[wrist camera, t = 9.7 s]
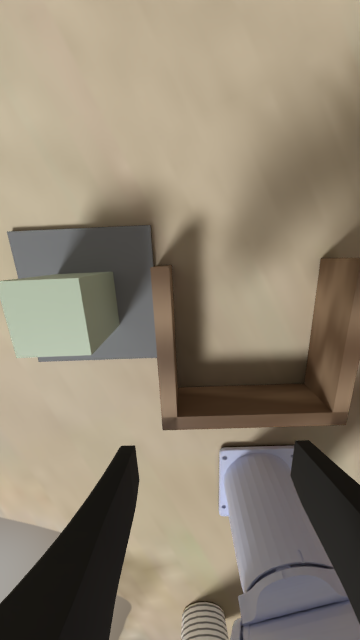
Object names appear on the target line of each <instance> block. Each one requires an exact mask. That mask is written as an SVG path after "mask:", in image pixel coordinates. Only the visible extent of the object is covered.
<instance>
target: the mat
mask: <svg viewBox="0 0 360 640" xmlns="http://www.w3.org/2000/svg"><path fill="white" fill-rule="evenodd" d="M7 234H8V238H9V242H10V246H11V250H12V254H13V258H14V262H15V267H16V271H17V275H18V279H21V278H29V277H37V276H45V275H53V274H69V273H92V272H113V276H114V284H115V292H116V300H117V308H118V316H119V324H120V325H119V326H118V327H117V328H116V329H115V331H114V332H113V333H112V334H111V335H110V336H109V337H108V338H107V339H106V340H105V341H104V342H103V343H102V344H101V346H100V347H99V348H98V349H97V350H96V351H95V352H94V353H93V354H92V355H82V356H55V357H38V361H39V362H46V361H75V360H103V359H132V358H157V349H156V336H155V323H154V310H153V297H152V284H151V271H150V267H154V266H153V253H152V239H151V226H150V225H142V226H120V227H98V228H77V229H55V230H33V231H11V232H7Z"/></svg>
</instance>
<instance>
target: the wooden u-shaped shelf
mask: <svg viewBox="0 0 360 640" xmlns="http://www.w3.org/2000/svg"><path fill="white" fill-rule="evenodd" d="M150 271H151V284H152V297H153V310H154V323H155V336H156V349H157V362H158V375H159V388H160V400H161V413H162V426H163V430H187V429H221V428H256V427H291V426H325V425H346V422H347V418H348V413H349V408H350V403H351V398H352V393H353V389H354V384H355V379H356V374H357V369H358V364H359V360H360V258H324V259H321V262H320V269H319V277H318V284H317V292H316V299H315V307H314V314H313V322H312V329H311V337H310V344H309V351H308V359H307V366H306V374H305V381H304V383H302V384H271V385H240V386H209V387H178V378H177V358H176V338H175V318H174V298H173V278H172V265H159V266H154V267H150Z"/></svg>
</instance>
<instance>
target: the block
mask: <svg viewBox="0 0 360 640" xmlns="http://www.w3.org/2000/svg"><path fill="white" fill-rule="evenodd" d="M0 300H1V303H2V307H3V311H4V314H5V318H6V321H7V325H8V329H9V332H10V336H11V340H12V343H13V347H14V351H15V354H16V358H27V357H55V356H82V355H92V354H93V353H94V352H95V351H96V350H97V349H98V348H99V347H100V346H101V344H102V343H103V342H104V341H105V340H106V339H107V338H108V337H109V336H110V335H111V334H112V333H113V332H114V331H115V329H116V328H117V327H118V326H119V325H120V324H119V316H118V308H117V300H116V292H115V284H114V276H113V272H92V273H69V274H53V275H45V276H37V277H29V278H21V279H12V280H4V281H0Z"/></svg>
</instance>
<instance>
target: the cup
mask: <svg viewBox="0 0 360 640" xmlns="http://www.w3.org/2000/svg"><path fill="white" fill-rule="evenodd" d="M181 640H229V639H228V633H227V628H226V622H225V616H224V612H223V610H222V609H221V608H220V607H219V606H217V605H215V604H213V603H208V602H199V603H195V604H192V605H189V606H188V607H187V608H185V610H184V612H183V615H182V632H181Z"/></svg>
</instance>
